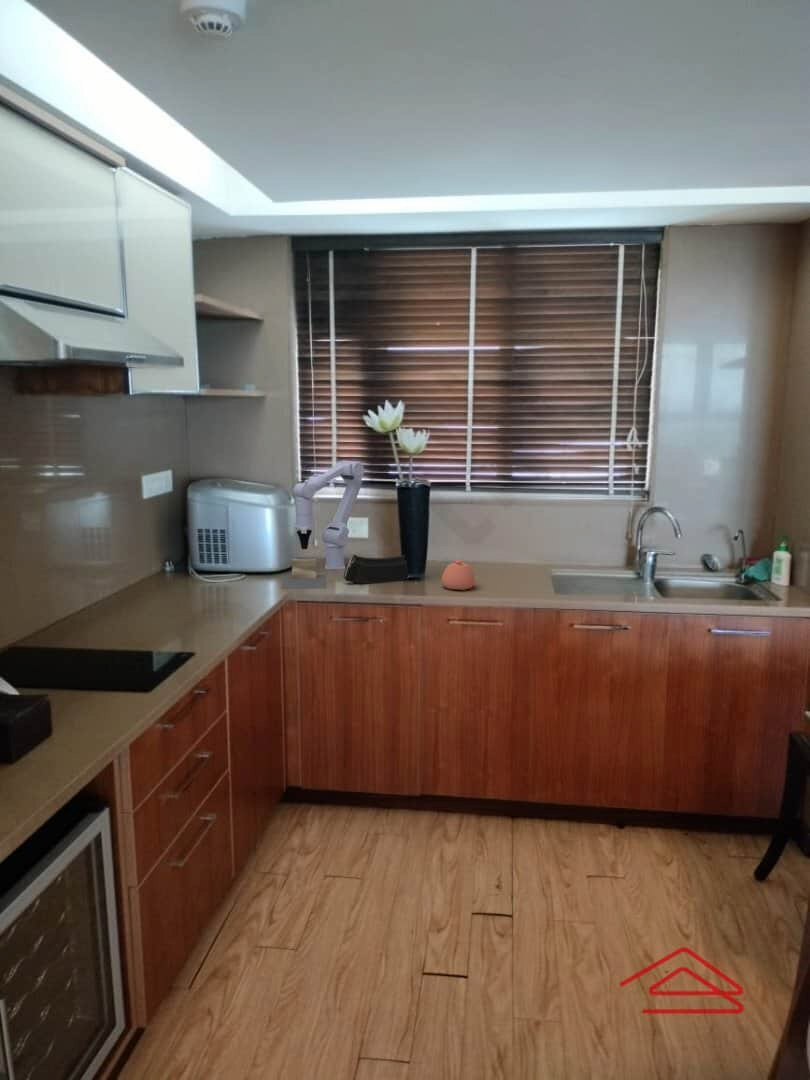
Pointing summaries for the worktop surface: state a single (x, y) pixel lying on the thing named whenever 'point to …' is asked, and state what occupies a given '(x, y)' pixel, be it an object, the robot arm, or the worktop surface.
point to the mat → (303, 582)
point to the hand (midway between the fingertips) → (304, 548)
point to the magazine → (376, 569)
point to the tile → (303, 568)
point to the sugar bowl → (458, 576)
